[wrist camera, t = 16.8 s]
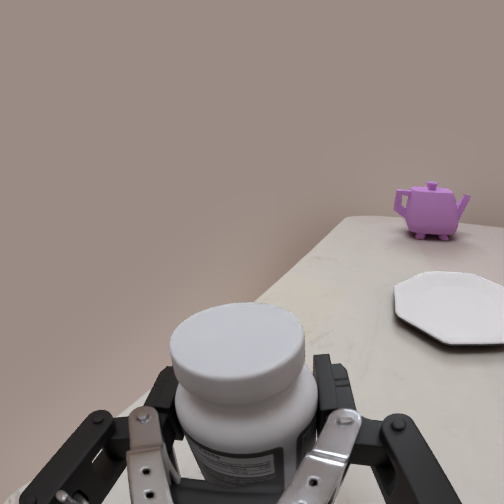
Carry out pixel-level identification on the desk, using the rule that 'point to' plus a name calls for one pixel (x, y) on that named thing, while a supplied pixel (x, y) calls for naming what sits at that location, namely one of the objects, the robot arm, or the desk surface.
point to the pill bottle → (245, 393)
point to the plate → (453, 307)
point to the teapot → (431, 210)
